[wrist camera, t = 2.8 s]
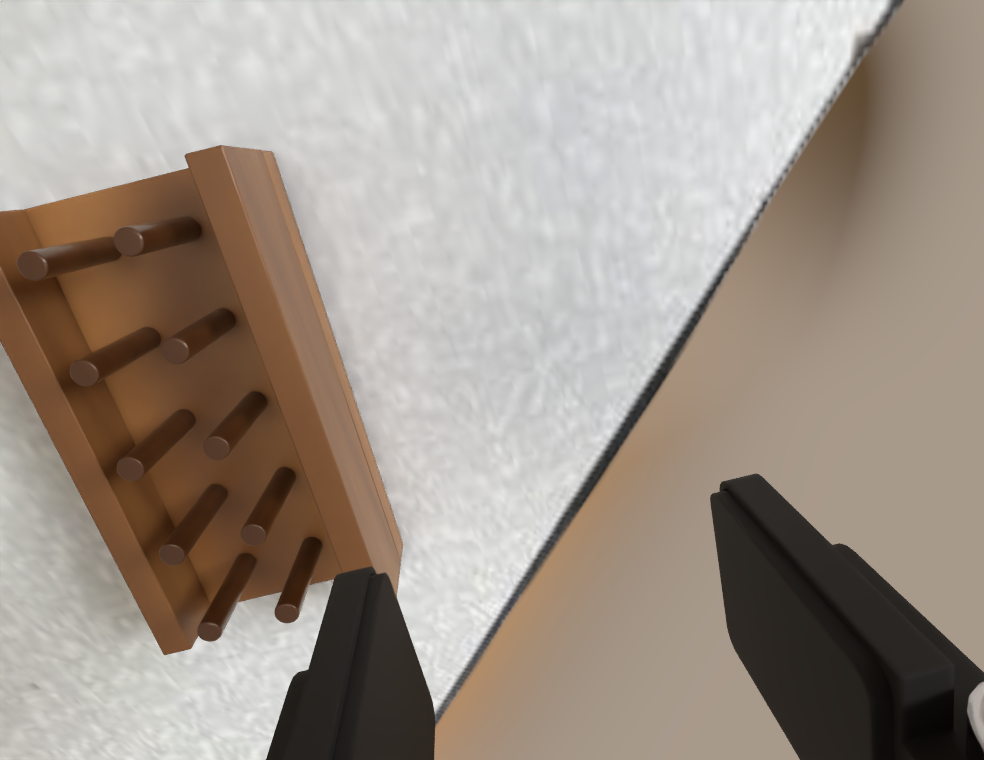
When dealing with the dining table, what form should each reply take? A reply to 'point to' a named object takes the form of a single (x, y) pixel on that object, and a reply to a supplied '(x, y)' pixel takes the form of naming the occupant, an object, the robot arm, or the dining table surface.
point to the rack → (195, 390)
